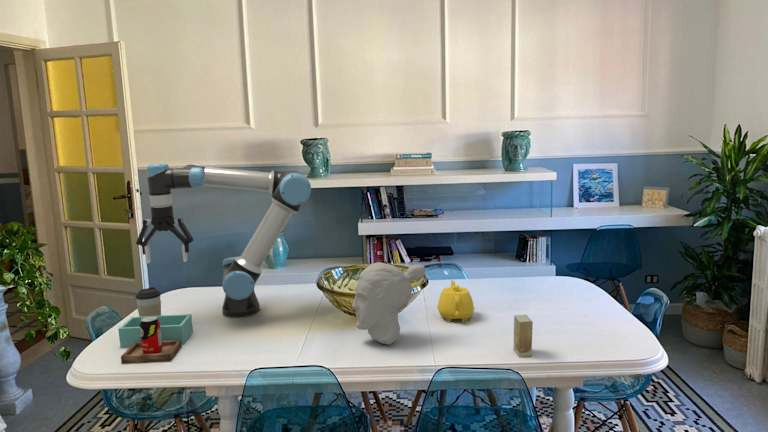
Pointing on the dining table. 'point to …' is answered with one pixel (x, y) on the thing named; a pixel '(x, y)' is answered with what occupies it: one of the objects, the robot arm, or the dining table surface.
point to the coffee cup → (149, 302)
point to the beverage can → (150, 335)
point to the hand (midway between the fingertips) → (167, 262)
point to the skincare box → (523, 335)
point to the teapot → (455, 303)
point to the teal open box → (169, 327)
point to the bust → (383, 299)
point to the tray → (138, 356)
